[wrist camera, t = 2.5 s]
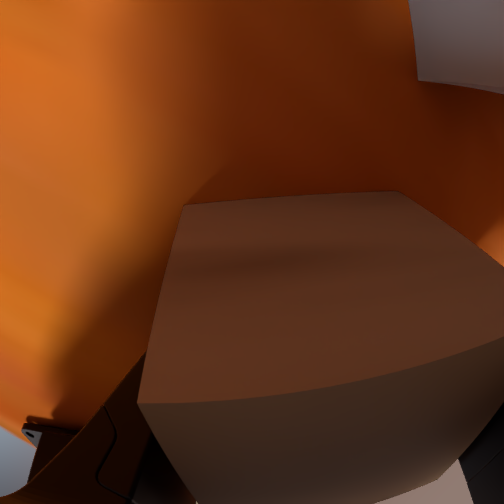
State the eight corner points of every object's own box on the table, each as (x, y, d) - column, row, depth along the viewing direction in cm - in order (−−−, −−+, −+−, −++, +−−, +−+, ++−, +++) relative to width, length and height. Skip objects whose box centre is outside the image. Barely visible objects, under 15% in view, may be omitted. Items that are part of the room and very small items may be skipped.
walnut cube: (371, 345, 10) (437, 479, 6) (211, 368, 10) (217, 529, 5) (398, 191, 8) (554, 313, 3) (183, 205, 7) (136, 403, 3)
